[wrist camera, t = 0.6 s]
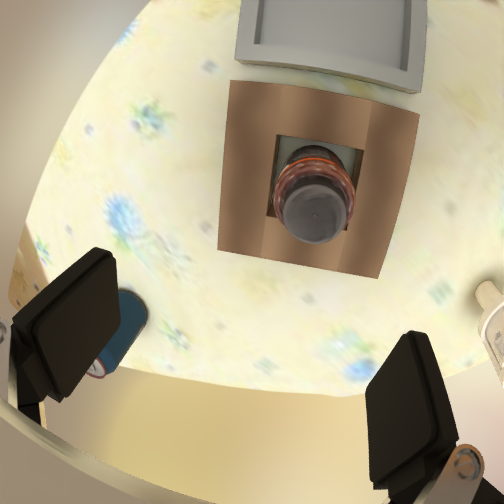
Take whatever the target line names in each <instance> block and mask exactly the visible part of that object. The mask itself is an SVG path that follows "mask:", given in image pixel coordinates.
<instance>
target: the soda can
mask: <svg viewBox="0 0 504 504" xmlns="http://www.w3.org/2000/svg"><path fill="white" fill-rule="evenodd" d="M118 296H119V306H120V315H121V323H120V326H119V328H118V330H117V331H116V333H115V334H114V335H113V337H112V338H111V339H110V341H109V342H108V343H107V345H106V346H105V347H104V349H103V350H102V351H101V353H100V354H99V355H98V357H97V358H96V359H95V361H94V362H93V364H92V365H91V366H90V368H89V369H88V370H87V372H86V374H88V375H90V376H92V377H94V378H98V379H102V378H104V377H105V376H106V375H107V374H109V373H111V372H113V371H114V370H115V369H116V367H117V366H118V365H119V363H120V362H121V360H122V359H123V357H124V356H125V354H126V353H127V351H128V350H129V348H130V347H131V346H132V344H133V343H134V341H135V340H136V338H137V337H138V335H139V334H140V332H141V331H142V330H143V328H144V327H145V325H146V310H145V307H144V305H143V303H142V302H141V300H140V299H139V298H138V297H136V296H135V295H134V294H132V293H130V292H127V291H118Z"/></svg>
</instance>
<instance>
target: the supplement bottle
mask: <svg viewBox="0 0 504 504" xmlns="http://www.w3.org/2000/svg"><path fill="white" fill-rule="evenodd" d="M273 205H274V210H275V213H276V216H277V217H278V219H279V221H280V222H281V224H282V225H283V226H284V227H285V228H286V229H287V230H288V231H289V232H290V233H291V235H292V236H294V237H295V238H296V239H298V240H300V241H302V242H304V243H308V244H314V245H315V244H322V243H325V242H329V241H330V240H332V239H334V238H335V237H336V236H338V234H339V233H340V232H341V231H342V230H343V229H344V228H345V226H346V225H347V224H348V223H349V222H350V220H351V218H352V216H353V213H354V211H355V205H356V197H355V190H354V187H353V184H352V182H351V180H350V177H349V176H348V173H347V172H346V170H345V168H344V166H343V164H342V162H341V160H340V159H339V158H338V157H337V156H336V155H335V154H334V153H333V152H332V151H330V150H329V149H327V148H325V147H322V146H316V145H310V146H304V147H301V148H299V149H297V150H296V151H295V152H293V153H292V154H291V155H290V156H289V157H288V159H287V160H286V162H285V164H284V166H283V169H282V171H281V173H280V175H279V178H278V180H277V183H276V185H275V189H274V194H273Z"/></svg>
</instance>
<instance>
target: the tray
mask: <svg viewBox="0 0 504 504" xmlns="http://www.w3.org/2000/svg"><path fill="white" fill-rule="evenodd" d="M426 31H427V0H242V1H241V8H240V16H239V24H238V32H237V40H236V49H235V58H234V59H235V60H237V61H238V62H240V63H242V64H255V65H267V66H278V67H287V68H295V69H302V70H309V71H315V72H322V73H327V74H333V75H338V76H343V77H348V78H353V79H357V80H362V81H366V82H370V83H374V84H378V85H382V86H385V87H389V88H393V89H396V90H400V91H403V92H406V93H410V94H414V93H421V89H422V81H423V72H424V61H425V48H426Z"/></svg>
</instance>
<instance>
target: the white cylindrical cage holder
mask: <svg viewBox="0 0 504 504" xmlns="http://www.w3.org/2000/svg"><path fill="white" fill-rule="evenodd" d="M475 297H476V299H477V300H478V302H479V303H480V305H481V307H482V308H483V310H484V313H483V314H482V316H481V318H480V321H479V325H478V333H479V335H480V337H481V339H482V341H483V343H484V345H485V348H486V350H487V352H488V354H489V356H490V358H491V360H492V362H493V365H494V367H495V369H496V371H497V374H498V376H499V379H500V381H501V384H502V386H503V389H504V294H503V295H501V294H500V292H499V291H498V290H497V288H496V287H495V285H494V284H493V283H492V282H491V281H484V282H483V283H481V284H480V285H479V286H478V288H477V289H476V292H475ZM496 332H497V333H496ZM491 346H492V347H493V349H494V351H495V353H496V355H497V357H496V355H495V353H494V351H493V349H492V347H491ZM497 358H498V359H497ZM498 360H499V361H498ZM499 362H500V363H499ZM500 364H501V366H502V368H501V366H500Z"/></svg>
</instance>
